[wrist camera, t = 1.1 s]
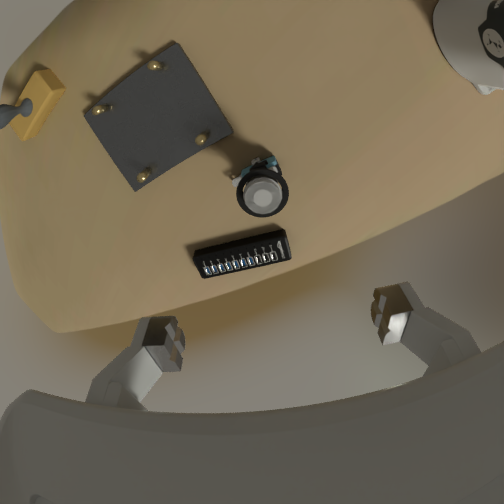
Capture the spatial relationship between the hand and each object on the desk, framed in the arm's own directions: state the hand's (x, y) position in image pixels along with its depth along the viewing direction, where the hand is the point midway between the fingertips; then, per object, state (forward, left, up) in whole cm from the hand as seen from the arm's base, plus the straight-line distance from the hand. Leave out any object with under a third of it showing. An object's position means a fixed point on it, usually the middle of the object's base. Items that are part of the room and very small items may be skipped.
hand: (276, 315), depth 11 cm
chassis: (+10, -10, -28) cm, 31 cm away
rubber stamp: (+24, -25, -28) cm, 45 cm away
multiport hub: (+10, +13, -28) cm, 33 cm away
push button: (+2, +3, -28) cm, 28 cm away
